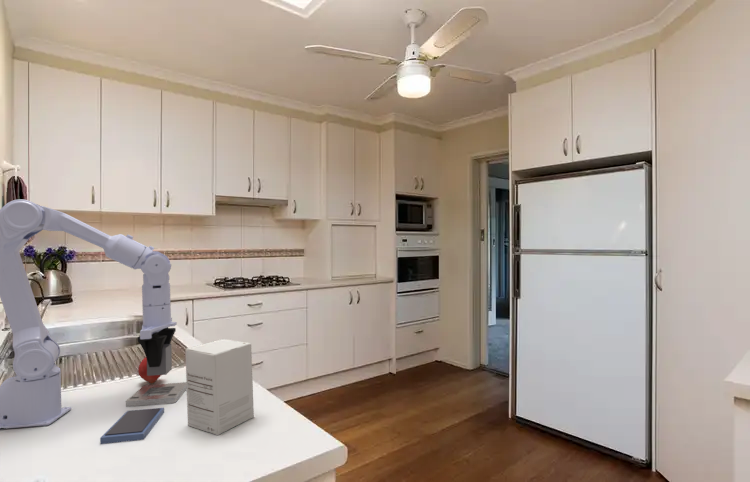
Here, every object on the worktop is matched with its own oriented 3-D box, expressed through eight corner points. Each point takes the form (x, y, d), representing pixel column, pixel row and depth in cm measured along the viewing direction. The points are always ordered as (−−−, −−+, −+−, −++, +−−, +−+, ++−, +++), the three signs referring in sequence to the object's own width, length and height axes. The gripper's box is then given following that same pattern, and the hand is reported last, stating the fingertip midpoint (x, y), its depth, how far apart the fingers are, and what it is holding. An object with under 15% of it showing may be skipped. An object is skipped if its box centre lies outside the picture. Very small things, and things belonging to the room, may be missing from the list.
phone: (100, 446, 73) (100, 436, 73) (127, 418, 85) (127, 409, 85) (143, 442, 74) (143, 432, 74) (164, 415, 86) (164, 406, 86)
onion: (133, 385, 103) (132, 353, 103) (155, 378, 108) (154, 347, 108) (148, 388, 100) (147, 355, 100) (169, 381, 105) (168, 349, 105)
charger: (147, 375, 93) (146, 348, 93) (153, 370, 97) (153, 343, 97) (166, 374, 94) (165, 347, 94) (171, 369, 97) (171, 342, 97)
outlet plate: (125, 406, 89) (125, 400, 89) (144, 390, 99) (143, 384, 99) (175, 402, 91) (175, 396, 91) (188, 387, 101) (188, 381, 101)
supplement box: (224, 408, 87) (223, 337, 87) (255, 417, 83) (253, 342, 83) (185, 425, 79) (183, 347, 79) (216, 436, 75) (214, 353, 75)
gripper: (164, 308, 89) (166, 372, 89) (184, 299, 103) (185, 353, 103) (128, 310, 87) (130, 374, 87) (154, 300, 102) (155, 355, 102)
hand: (158, 363), depth 95 cm, fingers closed on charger, 4 cm apart
